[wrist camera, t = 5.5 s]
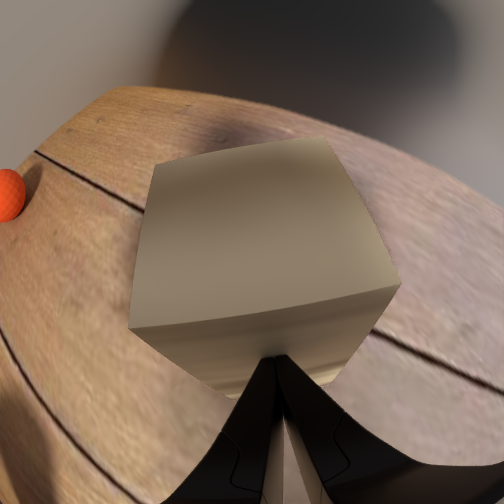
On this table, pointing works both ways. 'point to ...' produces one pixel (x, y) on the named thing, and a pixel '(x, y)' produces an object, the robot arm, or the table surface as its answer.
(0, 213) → the clementine
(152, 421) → the table surface
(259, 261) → the block
